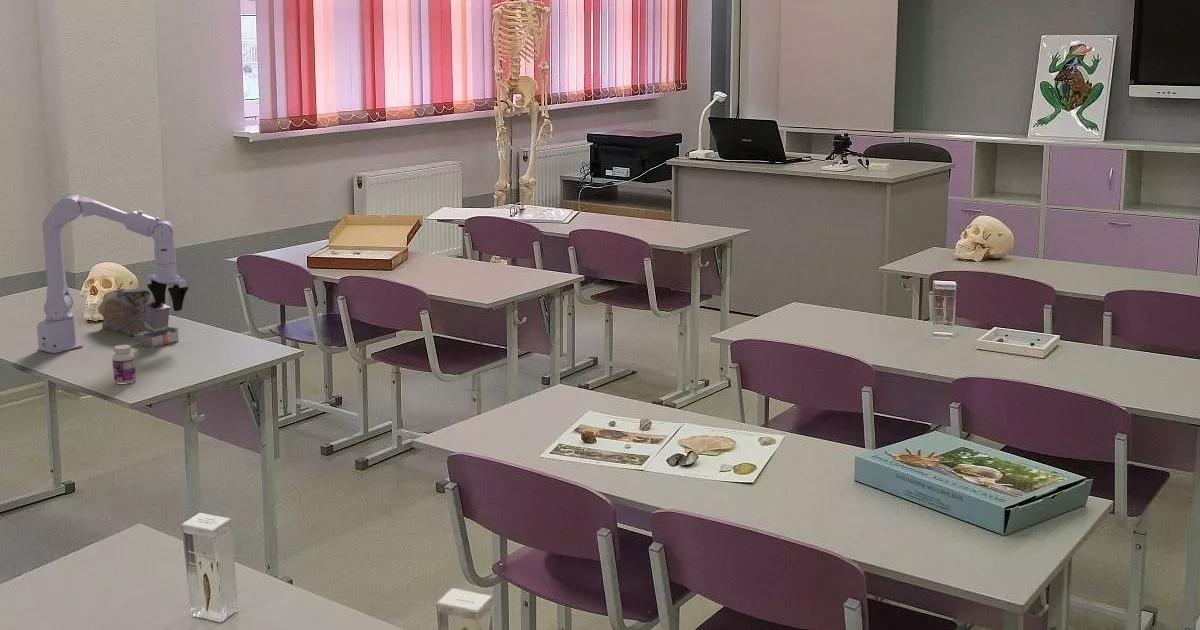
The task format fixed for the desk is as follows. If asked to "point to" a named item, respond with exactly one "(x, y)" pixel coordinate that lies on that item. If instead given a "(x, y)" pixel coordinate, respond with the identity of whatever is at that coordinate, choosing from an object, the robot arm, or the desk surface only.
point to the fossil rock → (125, 310)
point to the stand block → (157, 337)
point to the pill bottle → (123, 364)
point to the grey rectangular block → (157, 318)
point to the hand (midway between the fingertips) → (169, 308)
